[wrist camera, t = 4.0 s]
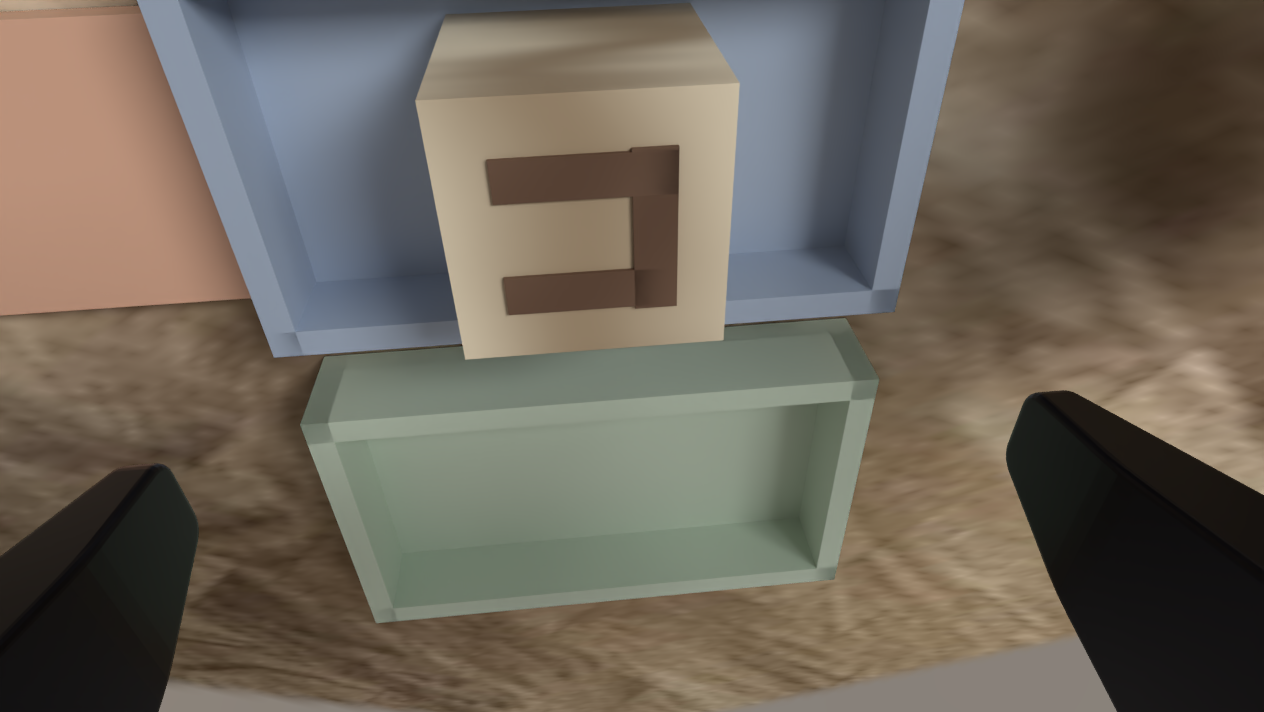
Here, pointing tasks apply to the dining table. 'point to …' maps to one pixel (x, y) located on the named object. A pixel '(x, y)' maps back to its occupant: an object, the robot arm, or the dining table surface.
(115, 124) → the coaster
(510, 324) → the letter cube
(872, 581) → the dining table surface
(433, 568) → the green tray
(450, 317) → the slate tray
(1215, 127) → the dining table surface
